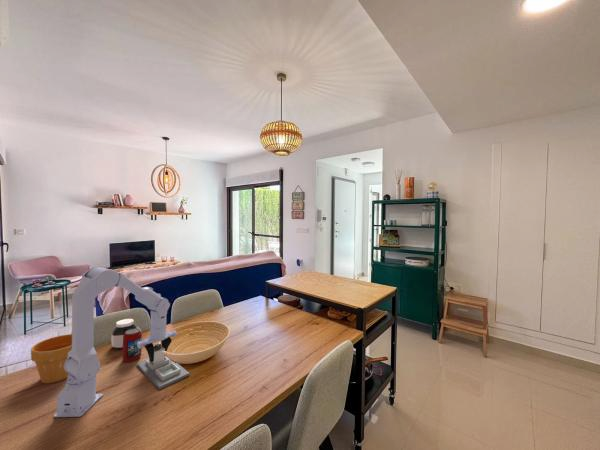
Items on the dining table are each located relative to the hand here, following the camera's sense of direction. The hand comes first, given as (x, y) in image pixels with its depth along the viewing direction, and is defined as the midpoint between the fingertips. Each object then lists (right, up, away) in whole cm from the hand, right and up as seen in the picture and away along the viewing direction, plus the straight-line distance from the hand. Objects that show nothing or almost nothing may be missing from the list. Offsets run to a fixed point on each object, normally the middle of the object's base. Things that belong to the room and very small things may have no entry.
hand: (157, 358), depth 103 cm
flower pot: (-33, -2, -9) cm, 34 cm away
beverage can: (-14, -3, +5) cm, 15 cm away
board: (+4, -3, -3) cm, 6 cm away
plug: (0, -2, 0) cm, 2 cm away
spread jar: (-25, -2, +17) cm, 30 cm away
